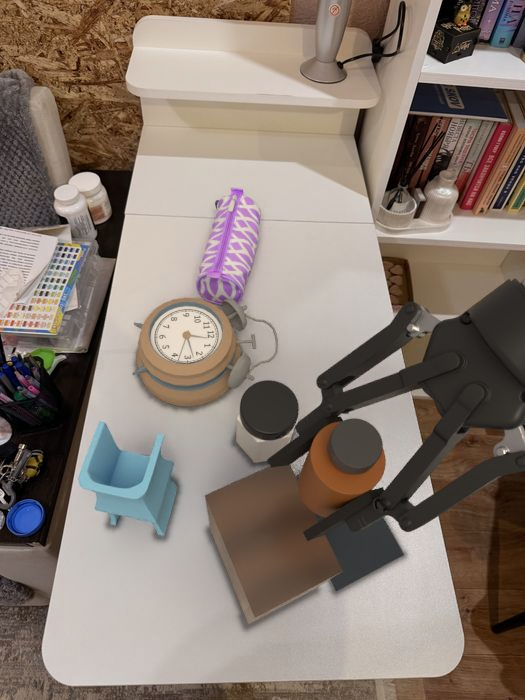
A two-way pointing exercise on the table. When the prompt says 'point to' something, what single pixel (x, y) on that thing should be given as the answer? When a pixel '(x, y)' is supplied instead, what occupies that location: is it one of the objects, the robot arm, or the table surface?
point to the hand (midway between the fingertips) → (296, 496)
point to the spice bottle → (341, 465)
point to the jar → (266, 419)
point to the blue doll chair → (129, 480)
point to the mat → (361, 550)
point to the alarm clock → (194, 351)
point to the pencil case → (229, 248)
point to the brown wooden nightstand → (268, 541)
